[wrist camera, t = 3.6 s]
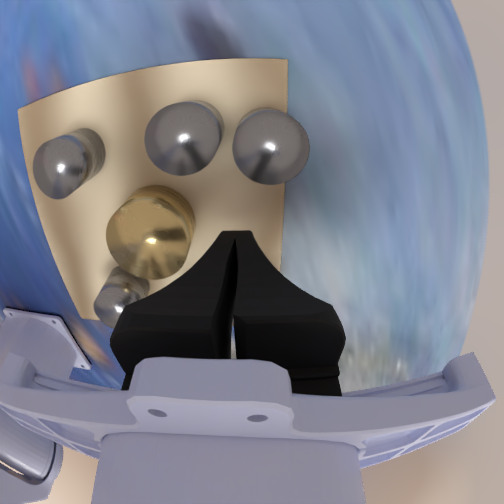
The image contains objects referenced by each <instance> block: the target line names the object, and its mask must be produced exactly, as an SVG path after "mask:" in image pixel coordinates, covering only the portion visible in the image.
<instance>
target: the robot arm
mask: <svg viewBox="0 0 504 504" xmlns="http://www.w3.org/2000/svg"><path fill="white" fill-rule="evenodd" d="M3 311H4V314H5V315H6V319H5V320H4V322H3V323H2V325H1V326H0V460H1V461H2V462H4V463H5V464H7V465H9V466H10V467H12V468H14V469H16V470H17V471H19V472H21V473H23V474H24V475H21V474H19V473H16V472H15V471H13V470H11V469H9V468H8V467H6V466H4V465H3V464H1V463H0V504H25V503H31V502H37V501H42V500H45V499H47V498H48V495H49V494H50V491H51V488H52V485H53V482H54V480H55V479H56V478H57V476H58V474H59V472H60V469H61V466H62V461H63V446H66V447H68V448H71V449H73V450H75V451H77V452H80V453H83V454H85V455H87V456H90V457H93V458H96V459H98V460H99V462H98V467H97V472H96V477H95V483H94V489H93V495H92V501H91V504H366V500H365V493H364V487H363V481H362V475H361V470H360V469H361V468H365V467H368V466H371V465H375V464H378V463H381V462H384V461H387V460H390V459H393V458H396V457H399V456H401V455H404V454H406V453H409V452H411V451H414V450H416V449H419V448H421V447H423V446H426V445H428V444H431V443H433V442H435V441H437V440H440V439H442V438H444V437H446V436H449V435H451V434H453V433H455V432H457V431H459V430H461V429H463V428H464V427H465V426H467V425H468V424H469V423H470V422H472V421H473V420H474V419H475V418H477V417H478V416H479V415H480V414H481V413H482V412H484V411H485V410H486V409H487V408H488V407H489V406H490V405H491V404H492V403H494V402H495V400H496V397H495V395H494V392H493V390H492V388H491V386H490V384H489V382H488V380H487V377H486V375H485V373H484V371H483V369H482V367H481V365H480V364H479V362H478V360H477V358H476V356H475V354H474V352H471V353H468V354H465V355H462V356H458V357H456V358H454V359H452V360H451V361H449V362H448V363H447V365H446V366H445V367H444V369H443V371H442V372H439V373H435V374H432V375H428V376H424V377H420V378H417V379H413V380H409V381H404V382H400V383H396V384H391V385H386V386H381V387H376V388H371V389H365V390H359V391H353V392H346V393H341V388H340V384H339V380H338V376H339V374H340V371H339V367H338V361H339V359H340V356H341V353H342V351H343V348H344V346H345V340H346V337H345V333H344V329H343V326H342V324H341V321H340V319H339V317H338V315H337V313H336V312H335V310H334V308H333V306H332V305H330V304H328V303H326V302H324V301H322V300H320V299H317V298H315V297H313V296H312V295H310V294H308V293H306V292H305V291H303V290H301V289H300V288H298V287H297V286H296V285H294V284H293V283H292V282H290V281H289V280H288V279H286V278H285V277H284V276H283V275H282V274H281V273H280V272H279V271H278V270H277V269H276V268H275V267H274V266H273V264H272V263H271V262H270V261H269V260H268V258H267V257H266V256H265V254H264V253H263V251H262V250H261V248H260V247H259V245H258V243H257V242H256V240H255V238H254V235H253V232H252V231H251V230H232V231H222V232H221V233H220V234H219V235H218V237H217V238H216V240H215V241H214V242H213V244H212V245H211V246H210V247H209V249H208V250H207V251H206V252H205V253H204V255H203V256H202V257H201V258H200V259H199V260H198V261H197V262H196V263H195V264H194V265H193V266H192V267H191V268H190V269H189V270H188V271H186V272H185V273H184V274H183V275H181V276H180V277H179V278H177V279H176V280H174V281H173V282H171V283H170V284H168V285H167V286H165V287H164V288H162V289H160V290H159V291H157V292H155V293H153V294H151V295H149V296H147V297H145V298H143V299H140V300H138V301H135V302H133V303H131V304H128V305H125V307H124V309H123V311H122V312H121V314H120V316H119V318H118V321H117V323H116V325H115V328H114V330H113V333H112V335H111V338H110V347H111V349H112V352H113V353H114V355H115V357H116V359H117V360H118V362H119V364H120V365H121V367H122V369H123V370H124V372H125V373H126V375H125V379H124V382H123V386H122V389H121V390H117V389H112V388H106V387H101V386H96V385H92V384H87V383H83V382H78V381H74V380H70V379H69V376H70V374H71V371H72V369H73V367H78V368H83V369H91V365H90V363H89V362H88V360H87V359H86V357H85V356H84V354H83V353H82V351H81V350H80V348H79V347H78V345H77V343H76V342H75V340H74V339H73V337H72V335H71V334H70V332H69V330H68V329H67V327H66V325H65V324H64V322H63V320H62V319H61V318H60V317H58V316H53V315H45V314H39V313H32V312H26V311H20V310H15V309H9V308H5V309H4V310H3ZM233 320H234V333H235V346H236V358H237V359H231V332H232V322H233ZM62 445H63V446H62Z"/></svg>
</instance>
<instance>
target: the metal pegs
mask: <svg viewBox="0 0 504 504" xmlns="http://www.w3.org/2000/svg"><path fill="white" fill-rule="evenodd" d="M224 128H225V127H224V121H223V118H222V116H221V114H220V112H219V111H218V110H217V109H216V108H215V107H214V106H213V105H211V104H209V103H207V102H205V101H201V100H190V101H184V102H179V103H174V104H171V105H168V106H166V107H164V108H162V109H160V110H159V111H158V112H157V113H156V114H155V115H154V116H153V117H152V118H151V120H150V121H149V123H148V125H147V128H146V131H145V137H144V143H145V149H146V152H147V154H148V156H149V158H150V160H151V161H152V162H153V164H154V165H155V166H156V167H158V168H159V169H160V170H162V171H164V172H166V173H168V174H171V175H176V176H186V175H191V174H194V173H197V172H199V171H200V170H202V169H203V168H205V167H206V166H207V165H208V164H209V163H210V162H211V161H212V159H213V158H214V156H215V154H216V152H217V149H218V147H219V145H220V143H221V141H222V139H223V136H224ZM309 151H310V145H309V139H308V136H307V134H306V132H305V130H304V128H303V127H302V126H301V124H300V123H299V122H297V121H296V120H295V119H294V118H292V117H291V116H289V115H287V114H285V113H284V112H282V111H280V110H278V109H275V108H270V107H262V108H257V109H254V110H252V111H250V112H248V113H247V114H246V115H244V116H243V118H242V119H241V120H240V121H239V123H238V125H237V128H236V131H235V135H234V139H233V144H232V152H233V157H234V161H235V163H236V165H237V167H238V168H239V170H240V171H241V172H242V173H243V174H244V175H245V176H246V177H247V178H249V179H251V180H252V181H254V182H257V183H260V184H265V185H277V184H282V183H285V182H287V181H289V180H291V179H293V178H294V177H295V176H297V175H298V174H299V173H300V172H301V171H302V169H303V168H304V166H305V165H306V162H307V160H308V157H309ZM105 157H106V151H105V146H104V143H103V141H102V139H101V137H100V136H99V135H98V134H97V133H96V132H95V131H93V130H91V129H88V128H80V129H77V130H74V131H71V132H69V133H66V134H64V135H61V136H59V137H56V138H54V139H51V140H49V141H47V142H45V143H43V144H42V145H41V146H40V147H39V148H38V149H37V151H36V153H35V156H34V159H33V174H34V178H35V181H36V183H37V185H38V187H39V189H40V190H41V191H42V192H43V193H44V194H45V195H46V196H48V197H50V198H52V199H57V200H59V199H64V198H66V197H68V196H69V195H70V194H72V193H73V192H74V191H75V190H77V189H78V188H79V187H81V186H82V185H83V184H85V183H86V182H87V181H89V180H90V179H91V178H93V177H94V176H96V175H97V174H98V173H99V172H100V171H101V169H102V167H103V165H104V162H105ZM149 291H150V284H149V281H148V279H143V278H140V277H137V276H134V275H132V274H130V273H129V272H127V271H126V270H124V269H123V268H122V267H121V266H117V267H115V268H114V269H113V270H112V271H111V273H110V275H109V276H108V278H107V280H106V281H105V283H104V285H103V287H102V289H101V290H100V292H99V294H98V296H97V298H96V299H95V301H94V304H93V307H94V311H95V314H96V315H97V317H98V318H99V319H100V320H101V321H102V322H103V323H104V324H106V325H107V326H109V327H111V328H113V329H114V328H115V325H116V323H117V321H118V318H119V316H120V314H121V312H122V311H123V309H124V307H125V305H128V304H131V303H133V302H135V301H138V300H140V299H143V298H145V297H147V296H148V294H149ZM232 325H233V326H234V320H233V322H232Z"/></svg>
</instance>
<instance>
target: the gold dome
mask: <svg viewBox="0 0 504 504" xmlns="http://www.w3.org/2000/svg"><path fill="white" fill-rule="evenodd" d="M195 228H196V219H195V215H194V211H193V209H192V207H191V205H190V204H189V202H188V201H187V200H186V199H185V198H184V197H183V196H182V195H181V194H180V193H179V192H177V191H175V190H174V189H172V188H169V187H166V186H162V185H149V186H145V187H142V188H140V189H138V190H136V191H135V192H134V193H132V194H131V195H130V196H129V198H128V199H127V200H126V201H125V202H124V203H123V204H122V205H121V206H120V207H119V208H118V210H117V211H116V212H115V213H114V214H113V215H112V217H111V218H110V220H109V222H108V225H107V228H106V242H107V246H108V249H109V251H110V253H111V255H112V257H113V258H114V260H115V261H116V262H117V263H118V264H119V265H120V266H121V267H122V268H123V269H124V270H126V271H127V272H129V273H130V274H132V275H134V276H137V277H140V278H143V279H148V280H159V279H164V278H168V277H170V276H172V275H174V274H175V273H177V272H178V271H179V270H180V269H181V268H182V266H183V265H184V263H185V261H186V259H187V255H188V252H189V249H190V246H191V242H192V239H193V236H194V233H195Z"/></svg>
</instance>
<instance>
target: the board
mask: <svg viewBox="0 0 504 504" xmlns="http://www.w3.org/2000/svg"><path fill="white" fill-rule="evenodd" d="M287 95H288V59H260V58H246V59H218V60H204V61H193V62H184V63H176V64H169V65H163V66H156V67H151V68H145V69H140V70H135V71H130V72H126V73H122V74H117V75H113V76H109V77H106V78H102V79H98V80H95V81H91V82H88V83H85V84H82V85H78V86H75V87H72V88H69V89H67V90H64V91H61V92H58V93H56V94H53V95H50V96H48V97H45V98H43V99H40V100H38V101H36V102H33V103H31V104H29V105H27V106H24V107H22V108H20V109H18V117H19V126H20V133H21V140H22V146H23V152H24V157H25V162H26V167H27V172H28V176H29V181H30V185H31V189H32V193H33V196H34V200H35V204H36V207H37V210H38V214H39V217H40V220H41V223H42V226H43V229H44V232H45V235H46V238H47V241H48V244H49V246H50V249H51V252H52V254H53V257H54V259H55V262H56V264H57V267H58V269H59V272H60V274H61V276H62V279H63V281H64V283H65V285H66V288H67V290H68V292H69V294H70V296H71V298H72V300H73V302H74V304H75V306H76V308H77V310H78V312H79V314H80V316H81V318H83V319H93V320H100V319H99V318H98V317H97V315H96V314H95V311H94V307H93V304H94V301H95V299H96V298H97V296H98V294H99V292H100V290H101V289H102V287H103V285H104V283H105V281H106V280H107V278H108V276H109V275H110V273H111V271H112V270H113V269H114V268H115V267H117V266H120V265H119V264H118V263H117V262H116V261H115V260H114V258H113V257H112V255H111V253H110V251H109V249H108V246H107V242H106V228H107V225H108V222H109V220H110V218H111V217H112V215H113V214H114V213H115V212H116V211H117V210H118V208H119V207H120V206H121V205H122V204H123V203H124V202H125V201H126V200H127V199H128V198H129V196H130V195H131V194H132V193H134V192H135V191H136V190H138V189H140V188H142V187H145V186H149V185H162V186H166V187H169V188H172V189H174V190H175V191H177V192H179V193H180V194H181V195H182V196H183V197H184V198H185V199H186V200H187V201H188V202H189V204H190V205H191V207H192V209H193V211H194V215H195V219H196V228H195V233H194V236H193V239H192V242H191V246H190V249H189V252H188V255H187V259H186V261H185V263H184V265H183V266H182V268H181V269H180V270H179V271H178V272H177V273H175V274H174V275H172V276H170V277H168V278H164V279H159V280H148V281H149V284H150V291H149V294H148V296H149V295H151V294H153V293H155V292H157V291H159V290H160V289H162V288H164V287H165V286H167V285H168V284H170V283H171V282H173V281H174V280H176V279H177V278H179V277H180V276H181V275H183V274H184V273H185V272H186V271H188V270H189V269H190V268H191V267H192V266H193V265H194V264H195V263H196V262H197V261H198V260H199V259H200V258H201V257H202V256H203V255H204V253H205V252H206V251H207V250H208V249H209V247H210V246H211V245H212V244H213V242H214V241H215V240H216V238H217V237H218V235H219V234H220V233H221V232H222V231H232V230H251V231H252V232H253V235H254V238H255V240H256V242H257V243H258V245H259V247H260V248H261V250H262V251H263V253H264V254H265V256H266V257H267V258H268V260H269V261H270V262H271V263H272V264H273V266H274V267H275V268H276V269H277V270H278V271H279V272H280V265H281V249H282V232H283V214H284V193H285V183H282V184H277V185H265V184H260V183H257V182H254V181H252V180H251V179H249V178H247V177H246V176H245V175H244V174H243V173H242V172H241V171H240V170H239V168H238V167H237V165H236V163H235V161H234V157H233V152H232V144H233V139H234V135H235V131H236V128H237V125H238V123H239V121H240V120H241V119H242V118H243V116H244V115H246V114H247V113H248V112H250V111H252V110H254V109H257V108H262V107H270V108H275V109H278V110H280V111H282V112H284V113H285V114H287ZM190 100H201V101H205V102H207V103H209V104H211V105H213V106H214V107H215V108H216V109H217V110H218V111H219V112H220V114H221V116H222V118H223V121H224V127H225V128H224V136H223V139H222V141H221V143H220V145H219V147H218V149H217V152H216V154H215V156H214V158H213V159H212V161H211V162H210V163H209V164H208V165H207V166H206V167H205V168H203V169H202V170H200V171H199V172H197V173H194V174H191V175H186V176H176V175H171V174H168V173H166V172H164V171H162V170H160V169H159V168H158V167H156V166H155V165H154V164H153V162H152V161H151V160H150V158H149V156H148V154H147V152H146V149H145V143H144V137H145V131H146V128H147V125H148V123H149V121H150V120H151V118H152V117H153V116H154V115H155V114H156V113H157V112H158V111H159V110H160V109H162V108H164V107H166V106H168V105H171V104H174V103H179V102H184V101H190ZM80 128H88V129H91V130H93V131H95V132H96V133H97V134H98V135H99V136H100V137H101V139H102V141H103V143H104V146H105V151H106V157H105V162H104V165H103V167H102V169H101V171H100V172H99V173H98V174H97V175H96V176H94V177H93V178H91V179H90V180H89V181H87V182H86V183H85V184H83V185H82V186H81V187H79V188H78V189H77V190H75V191H74V192H73V193H72V194H70V195H69V196H68V197H66V198H64V199H59V200H57V199H52V198H50V197H48V196H46V195H45V194H44V193H43V192H42V191H41V190H40V189H39V187H38V185H37V183H36V181H35V178H34V174H33V159H34V156H35V153H36V151H37V149H38V148H39V147H40V146H41V145H42V144H43V143H45V142H47V141H49V140H51V139H54V138H56V137H59V136H61V135H64V134H66V133H69V132H71V131H74V130H77V129H80ZM232 326H233V325H232Z"/></svg>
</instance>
